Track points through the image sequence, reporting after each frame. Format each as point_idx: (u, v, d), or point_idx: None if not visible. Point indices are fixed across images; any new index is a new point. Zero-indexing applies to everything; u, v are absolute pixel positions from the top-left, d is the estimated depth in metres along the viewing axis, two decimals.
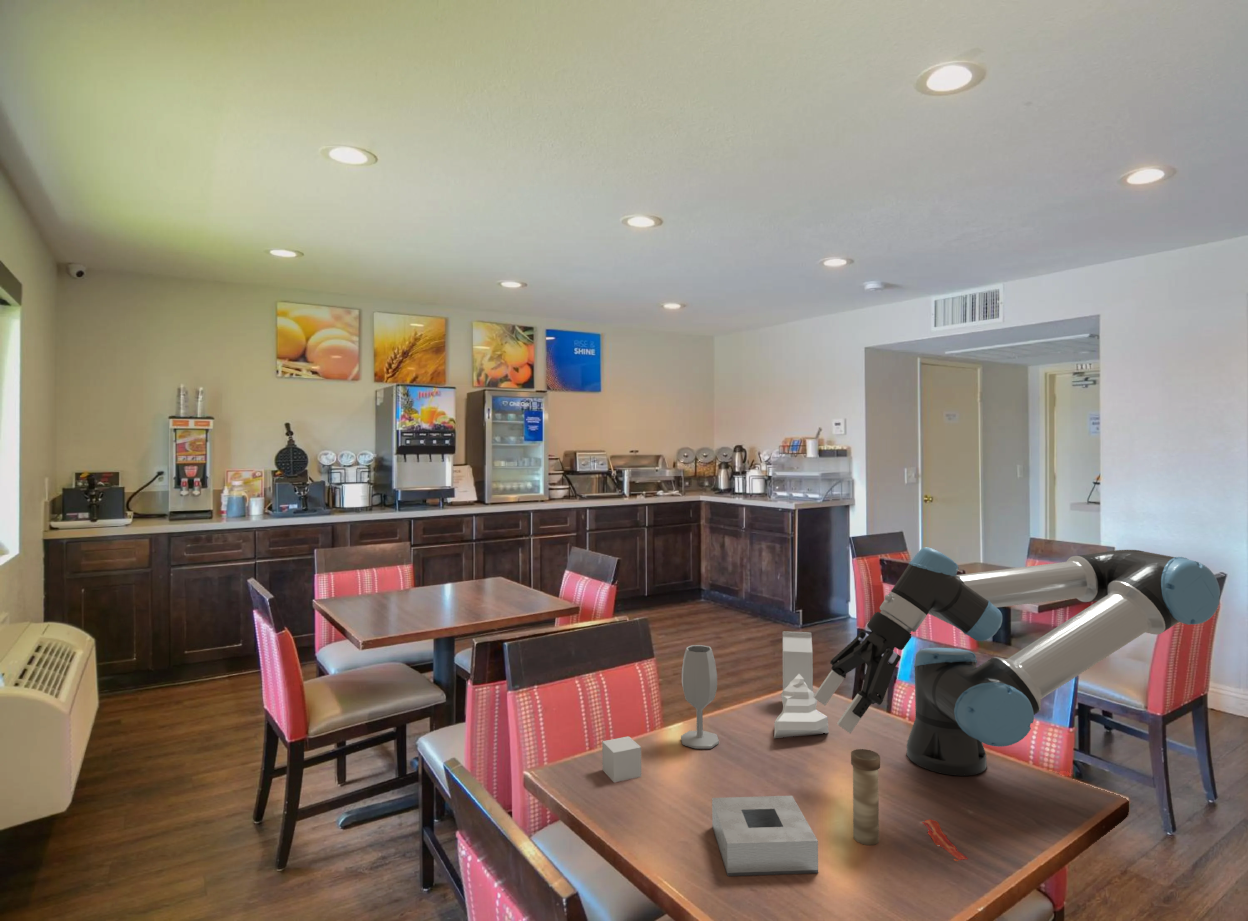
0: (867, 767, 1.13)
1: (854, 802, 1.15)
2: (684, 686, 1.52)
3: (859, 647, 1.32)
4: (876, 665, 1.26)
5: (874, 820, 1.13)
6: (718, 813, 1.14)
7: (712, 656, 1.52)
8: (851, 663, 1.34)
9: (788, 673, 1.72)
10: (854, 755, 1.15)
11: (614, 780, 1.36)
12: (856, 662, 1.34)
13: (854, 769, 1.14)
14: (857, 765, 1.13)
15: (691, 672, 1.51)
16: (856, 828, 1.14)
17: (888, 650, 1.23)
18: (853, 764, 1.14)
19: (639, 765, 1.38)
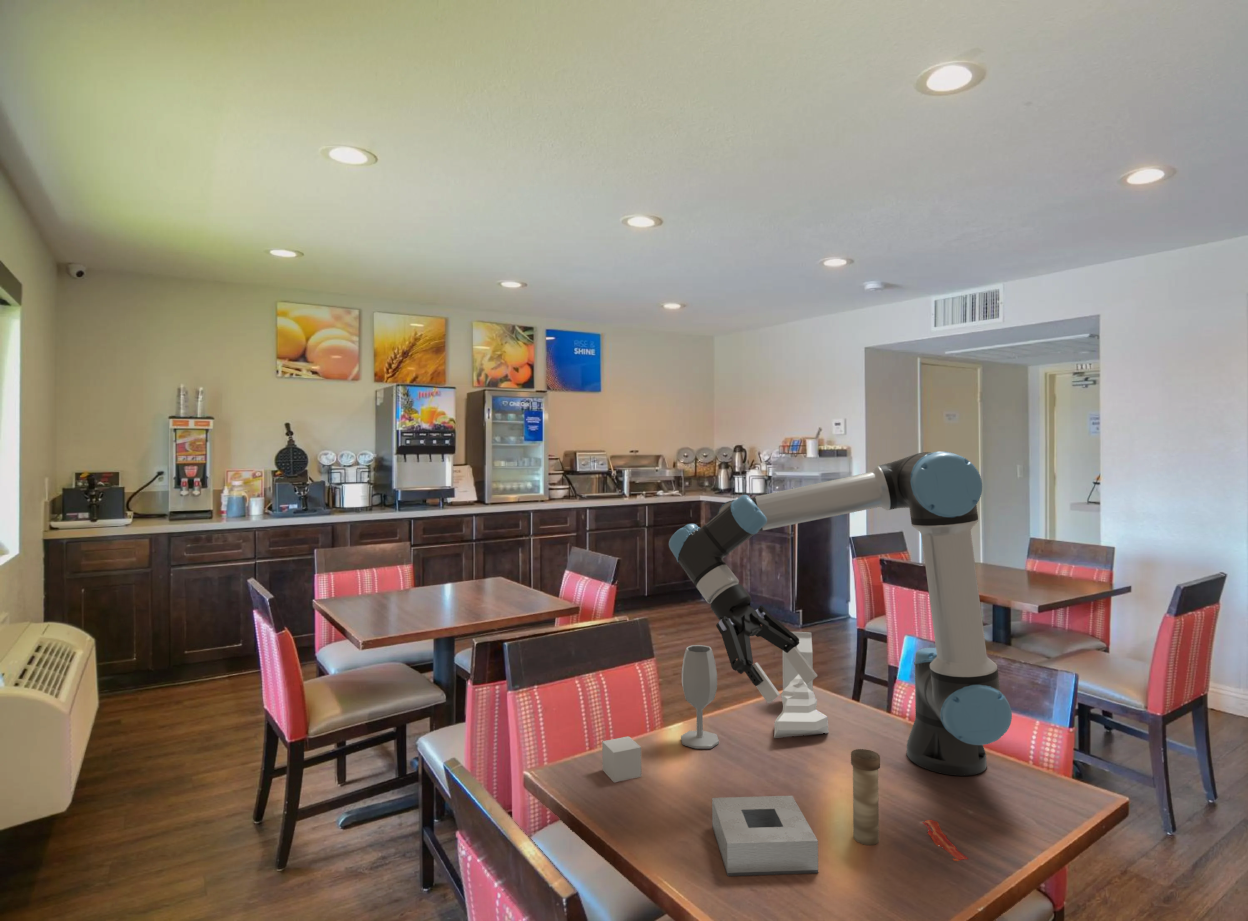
0: (867, 767, 1.13)
1: (854, 802, 1.15)
2: (684, 686, 1.52)
3: None
4: (739, 636, 1.27)
5: (874, 820, 1.13)
6: (718, 813, 1.14)
7: (712, 656, 1.52)
8: (773, 638, 1.32)
9: (788, 673, 1.72)
10: (854, 755, 1.15)
11: (614, 780, 1.36)
12: (770, 634, 1.31)
13: (854, 769, 1.14)
14: (857, 765, 1.13)
15: (691, 672, 1.51)
16: (856, 828, 1.14)
17: (717, 626, 1.27)
18: (853, 764, 1.14)
19: (639, 765, 1.38)
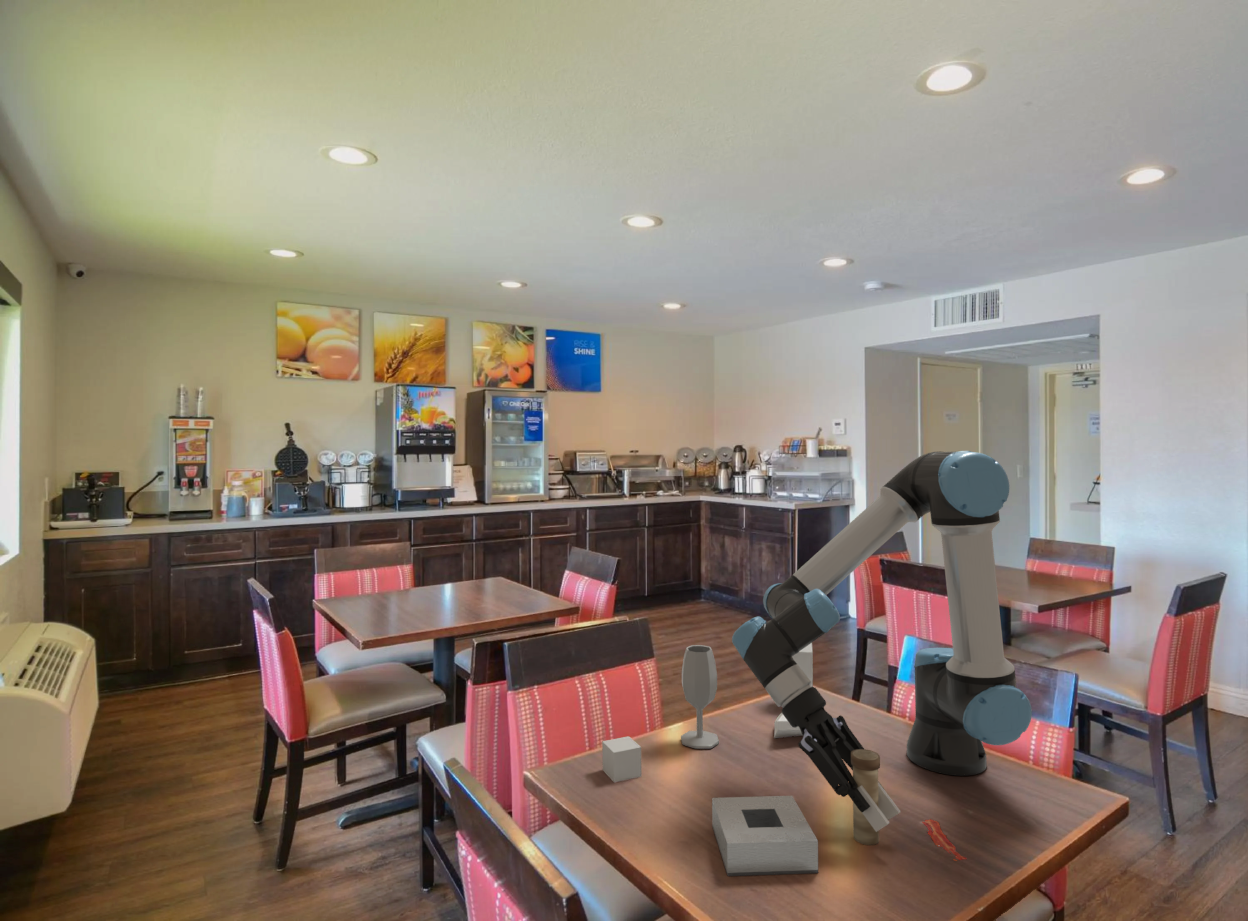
0: (867, 767, 1.13)
1: None
2: (684, 686, 1.52)
3: None
4: (825, 751, 1.17)
5: None
6: (718, 813, 1.14)
7: (712, 656, 1.52)
8: (847, 757, 1.19)
9: None
10: (854, 755, 1.15)
11: (614, 780, 1.36)
12: (844, 750, 1.19)
13: (854, 769, 1.14)
14: (857, 765, 1.13)
15: (691, 672, 1.51)
16: (856, 828, 1.14)
17: (799, 746, 1.16)
18: (853, 764, 1.14)
19: (639, 765, 1.38)
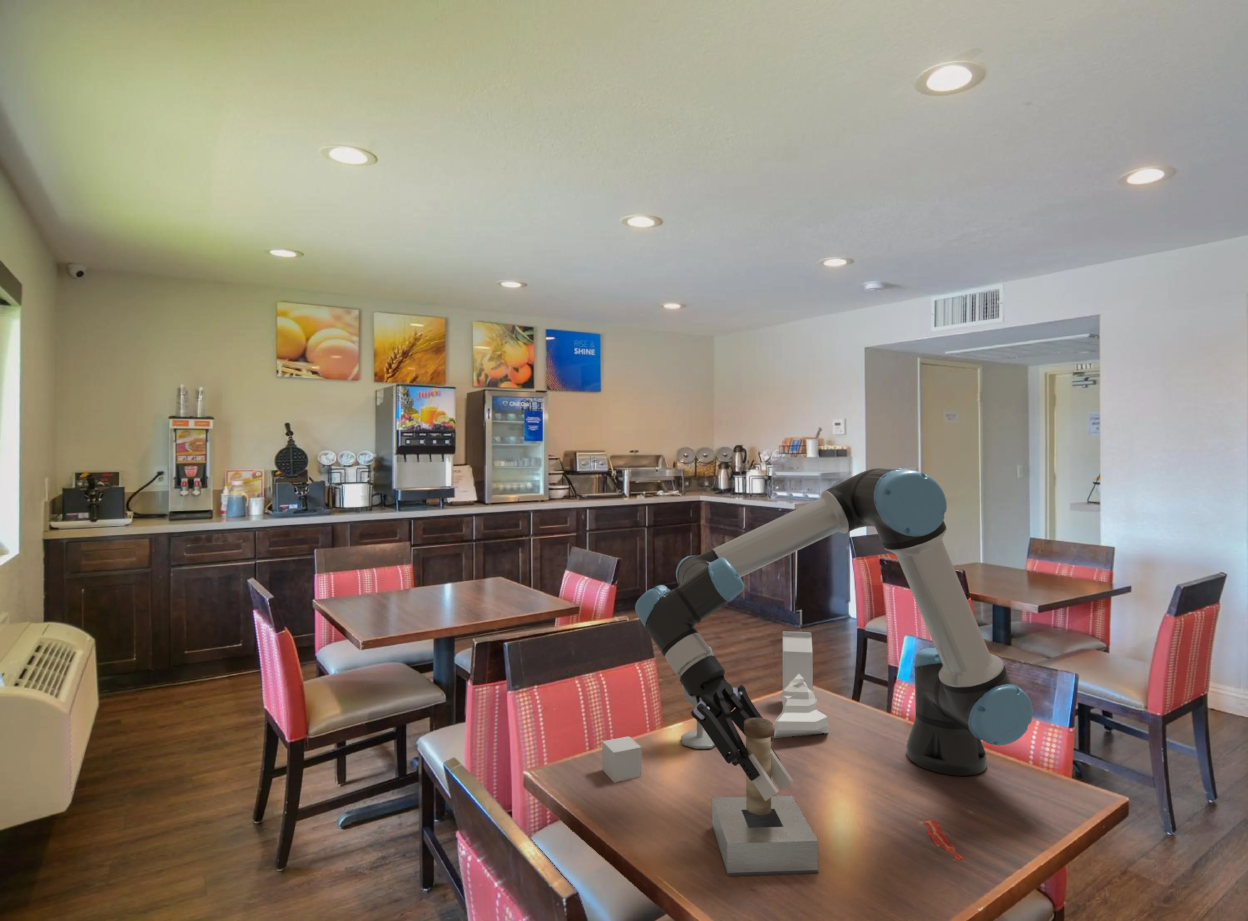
0: (758, 735, 1.10)
1: None
2: None
3: None
4: (719, 720, 1.14)
5: None
6: (718, 813, 1.14)
7: None
8: None
9: (788, 673, 1.72)
10: (747, 722, 1.12)
11: (614, 780, 1.36)
12: (741, 719, 1.16)
13: (746, 737, 1.12)
14: (748, 733, 1.11)
15: None
16: (747, 798, 1.11)
17: (692, 714, 1.13)
18: (745, 732, 1.11)
19: (639, 765, 1.38)
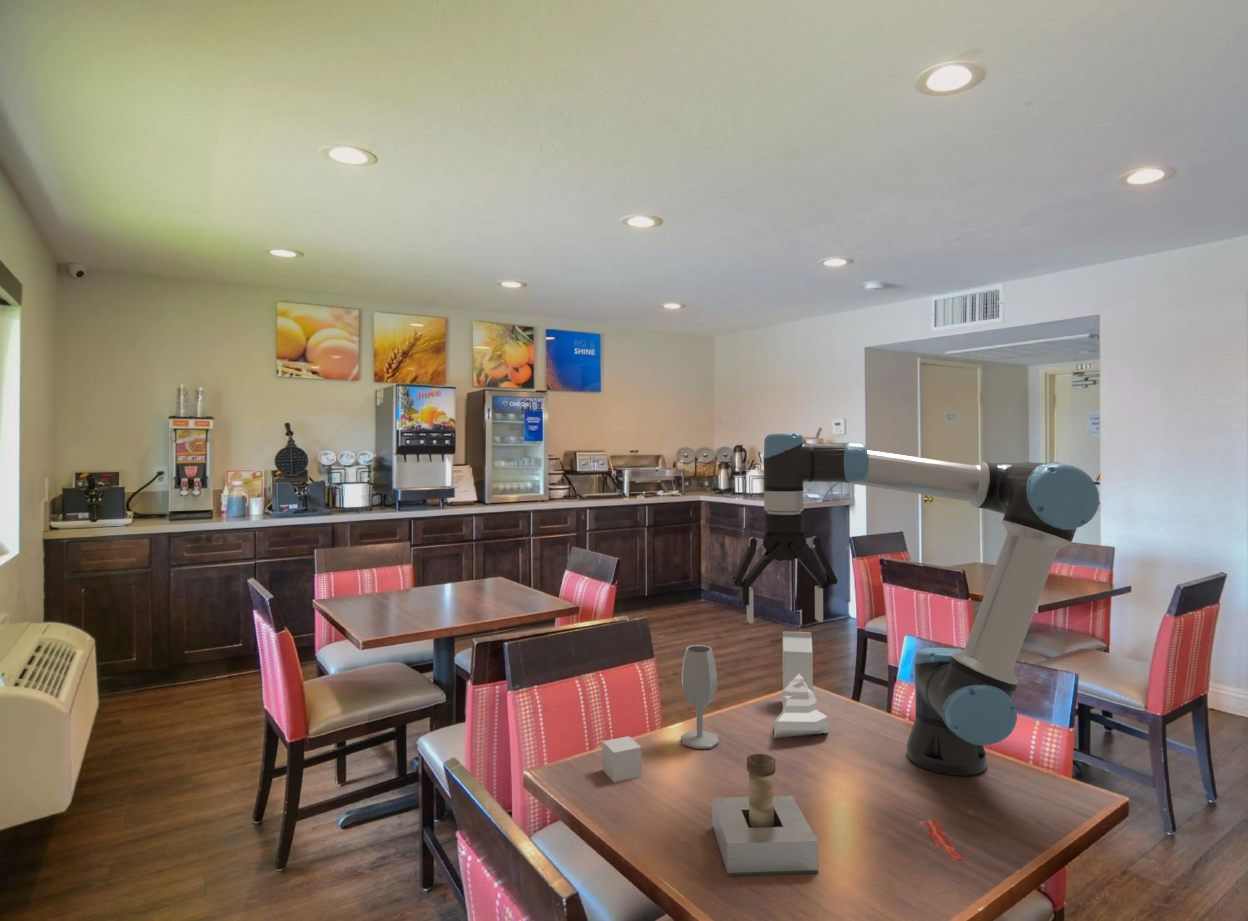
0: (761, 773, 1.10)
1: (749, 808, 1.12)
2: (684, 686, 1.52)
3: None
4: (763, 557, 1.34)
5: None
6: (718, 813, 1.14)
7: (712, 656, 1.52)
8: (807, 570, 1.35)
9: (788, 673, 1.72)
10: (750, 760, 1.12)
11: (614, 780, 1.36)
12: (805, 566, 1.34)
13: (749, 774, 1.12)
14: (751, 770, 1.11)
15: (691, 672, 1.51)
16: None
17: (750, 538, 1.35)
18: (748, 769, 1.11)
19: (639, 765, 1.38)
